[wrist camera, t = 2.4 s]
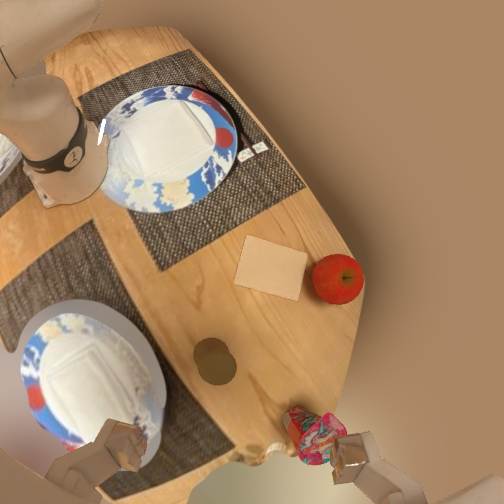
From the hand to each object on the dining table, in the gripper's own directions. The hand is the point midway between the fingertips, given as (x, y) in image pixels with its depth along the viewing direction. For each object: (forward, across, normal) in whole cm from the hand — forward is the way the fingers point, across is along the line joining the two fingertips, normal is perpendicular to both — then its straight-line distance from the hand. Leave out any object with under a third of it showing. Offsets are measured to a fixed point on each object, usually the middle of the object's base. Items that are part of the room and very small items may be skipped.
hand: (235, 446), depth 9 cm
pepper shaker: (+31, +7, +18) cm, 36 cm away
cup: (+28, -7, +32) cm, 43 cm away
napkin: (+40, -3, +6) cm, 40 cm away
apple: (+41, -12, +9) cm, 44 cm away
